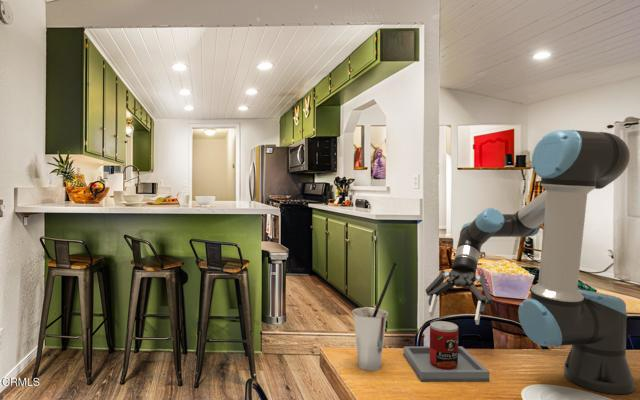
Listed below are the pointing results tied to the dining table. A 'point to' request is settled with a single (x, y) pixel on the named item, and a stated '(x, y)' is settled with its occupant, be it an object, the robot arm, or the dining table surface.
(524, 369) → the dining table surface
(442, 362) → the canned food
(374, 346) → the glass
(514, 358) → the dining table surface
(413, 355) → the tray
